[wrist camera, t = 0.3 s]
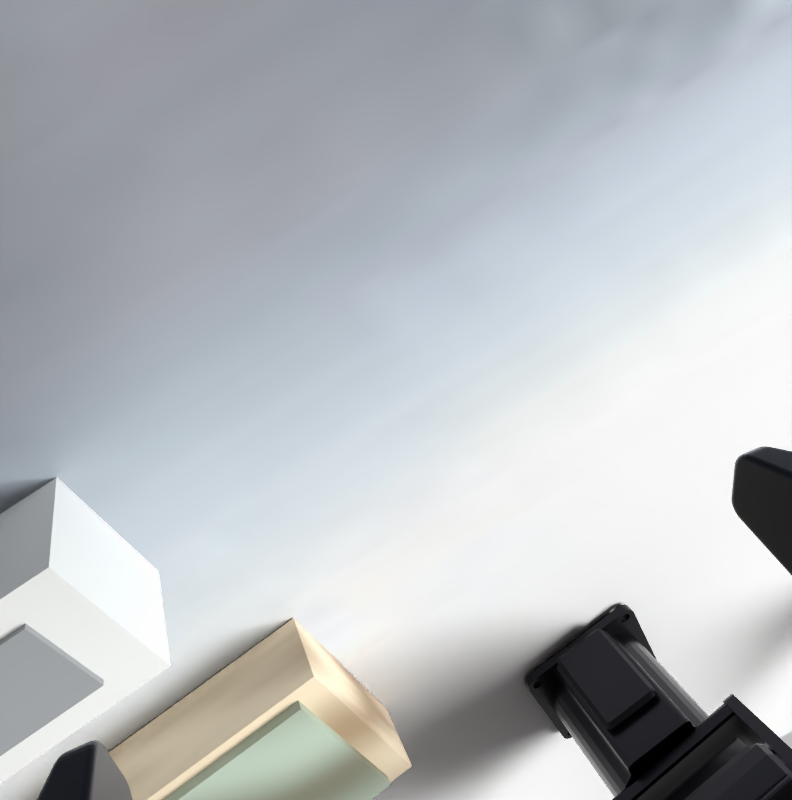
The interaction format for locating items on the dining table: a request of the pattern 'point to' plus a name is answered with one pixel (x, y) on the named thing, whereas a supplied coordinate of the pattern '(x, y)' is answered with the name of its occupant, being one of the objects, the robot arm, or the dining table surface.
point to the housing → (69, 622)
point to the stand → (268, 732)
